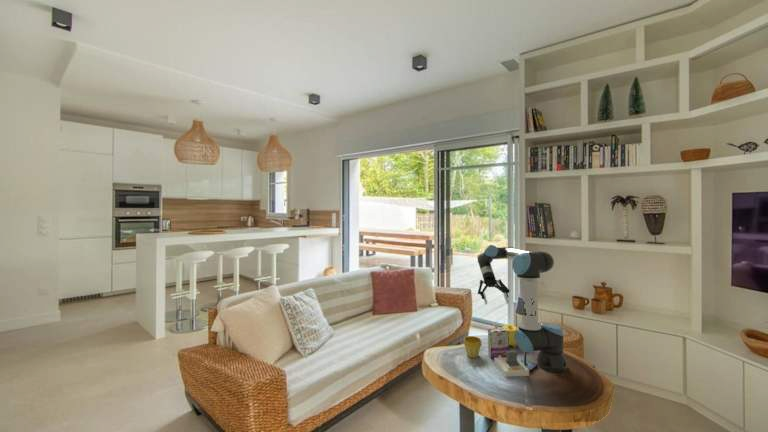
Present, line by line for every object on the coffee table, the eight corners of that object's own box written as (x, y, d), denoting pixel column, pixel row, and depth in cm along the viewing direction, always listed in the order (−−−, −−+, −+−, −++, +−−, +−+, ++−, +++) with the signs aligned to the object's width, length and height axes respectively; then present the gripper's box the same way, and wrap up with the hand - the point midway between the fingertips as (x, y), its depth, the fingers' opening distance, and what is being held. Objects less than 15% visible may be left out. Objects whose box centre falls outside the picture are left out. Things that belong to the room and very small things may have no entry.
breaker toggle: (515, 362, 182) (515, 349, 182) (518, 365, 178) (518, 353, 178) (504, 362, 182) (504, 350, 182) (507, 366, 178) (507, 353, 178)
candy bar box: (505, 354, 199) (505, 327, 199) (509, 357, 194) (509, 330, 194) (487, 355, 198) (487, 328, 198) (491, 358, 193) (490, 331, 193)
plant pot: (479, 351, 204) (478, 335, 203) (483, 359, 193) (483, 342, 193) (462, 351, 204) (462, 335, 204) (466, 359, 194) (465, 343, 193)
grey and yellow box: (493, 337, 224) (493, 319, 224) (525, 342, 215) (525, 323, 215) (491, 345, 212) (490, 326, 211) (524, 350, 203) (524, 331, 203)
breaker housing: (516, 362, 189) (516, 354, 189) (529, 375, 174) (529, 367, 174) (494, 362, 189) (494, 355, 188) (505, 376, 174) (505, 368, 173)
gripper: (504, 276, 222) (514, 305, 207) (468, 278, 221) (476, 306, 206) (507, 270, 217) (518, 299, 202) (470, 271, 216) (478, 300, 201)
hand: (497, 303), depth 204 cm, fingers open, 13 cm apart
